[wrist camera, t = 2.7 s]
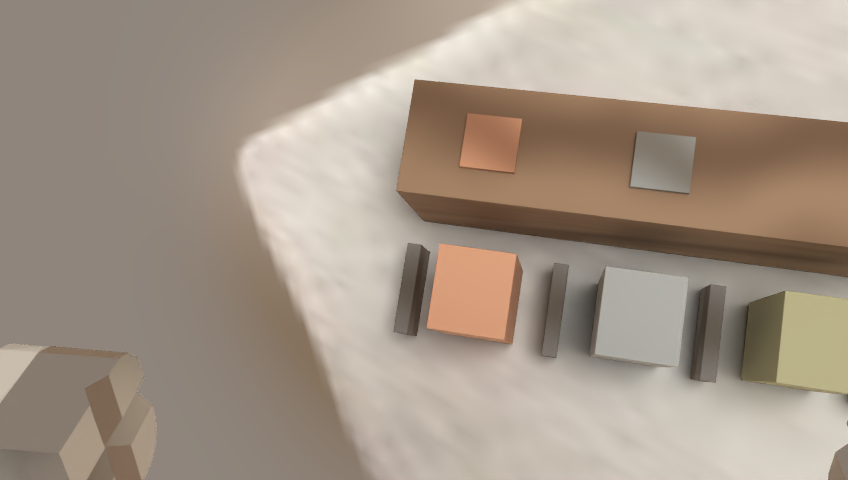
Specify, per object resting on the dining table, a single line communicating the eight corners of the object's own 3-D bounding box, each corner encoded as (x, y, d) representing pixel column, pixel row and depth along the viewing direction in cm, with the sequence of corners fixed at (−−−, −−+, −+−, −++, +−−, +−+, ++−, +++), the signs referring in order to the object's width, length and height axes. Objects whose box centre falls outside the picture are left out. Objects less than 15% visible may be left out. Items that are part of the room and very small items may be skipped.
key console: (864, 406, 45) (941, 416, 36) (403, 333, 50) (369, 326, 41) (884, 177, 47) (962, 131, 38) (436, 128, 52) (411, 77, 42)
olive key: (816, 391, 45) (867, 396, 38) (741, 379, 46) (776, 382, 39) (823, 313, 46) (875, 302, 38) (749, 302, 46) (785, 290, 39)
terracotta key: (512, 343, 48) (504, 339, 41) (446, 333, 49) (426, 327, 42) (522, 271, 49) (516, 254, 41) (457, 261, 50) (439, 243, 42)
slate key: (659, 366, 47) (678, 367, 39) (588, 355, 47) (594, 354, 40) (668, 291, 47) (688, 277, 40) (598, 281, 48) (606, 266, 41)
